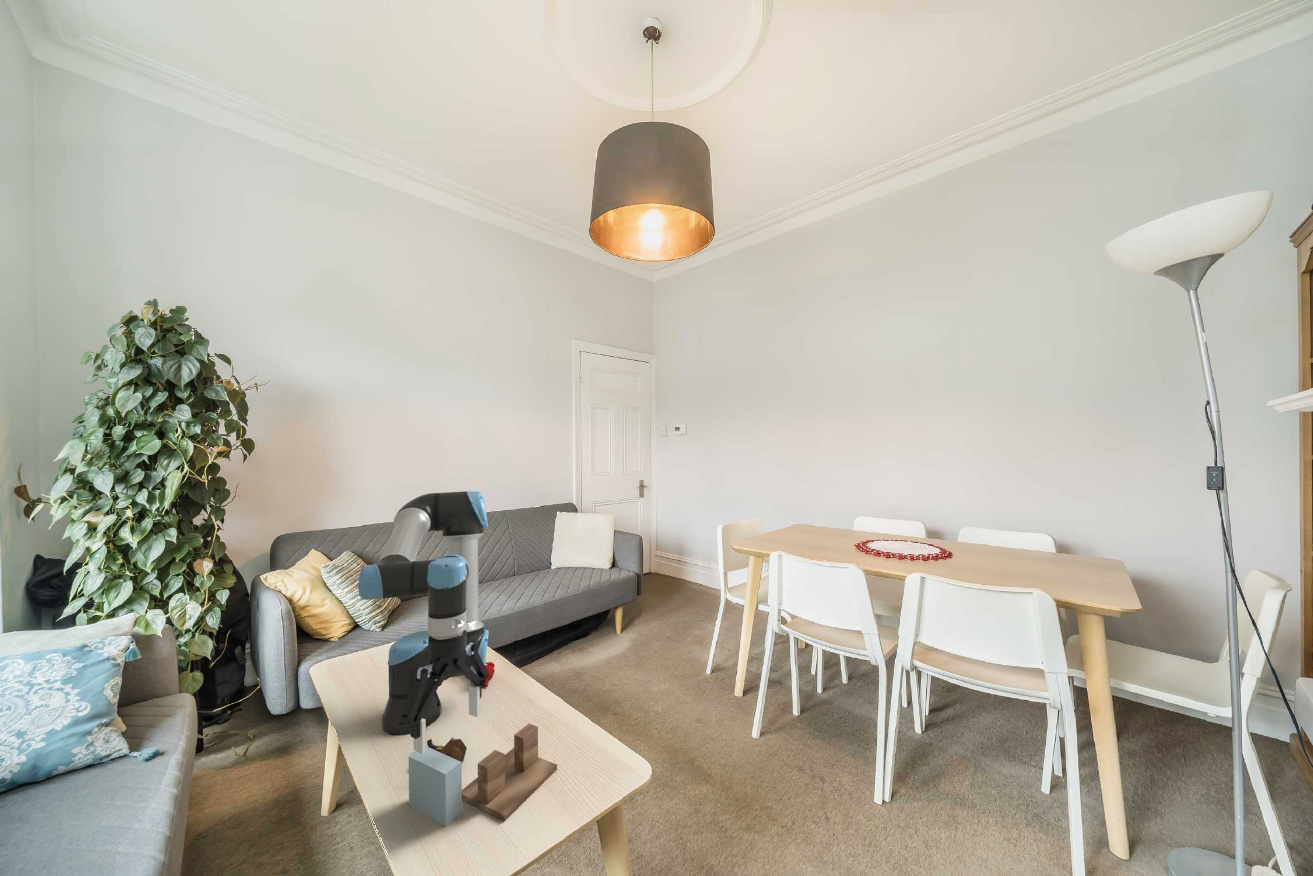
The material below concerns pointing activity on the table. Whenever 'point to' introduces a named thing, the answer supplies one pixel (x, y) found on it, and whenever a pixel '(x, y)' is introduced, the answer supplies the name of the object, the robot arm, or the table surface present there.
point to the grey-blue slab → (435, 785)
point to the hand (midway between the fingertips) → (448, 732)
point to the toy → (451, 749)
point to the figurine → (490, 670)
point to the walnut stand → (509, 776)
